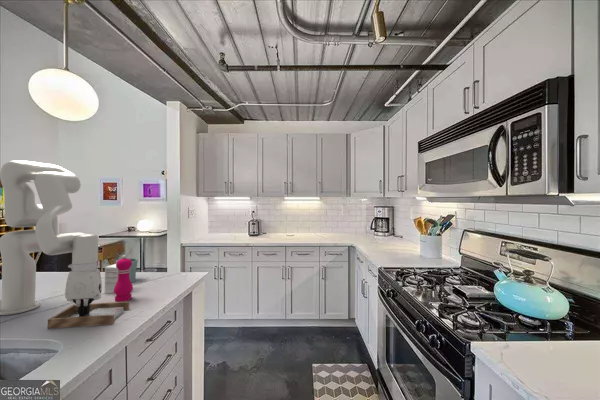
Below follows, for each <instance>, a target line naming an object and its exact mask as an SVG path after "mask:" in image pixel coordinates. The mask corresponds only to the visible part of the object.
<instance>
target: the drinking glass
mask: <svg viewBox="0 0 600 400" xmlns="http://www.w3.org/2000/svg"><path fill="white" fill-rule="evenodd" d="M120 259H121V258H120ZM120 259H117V260H116V261H115V264H116V263H117V261H118V260H120ZM128 259H130V260H131V261H132V266H131V267H130V272H129V278H130V281H131V283H132V284H133V283H134V282H136V278H137V277H136V276H137V275H136V274H137V268H138V261H139V260H138V258H135V257H134V258H133V257H128Z"/></svg>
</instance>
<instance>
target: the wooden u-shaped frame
mask: <svg viewBox="0 0 600 400" xmlns="http://www.w3.org/2000/svg"><path fill="white" fill-rule="evenodd" d="M111 307H124V309H123V311H128V310H130V301H123V302H116V301H114V302H97V303H93V302H92V303H91V304H90V312H91V311H92V310H94V309H95V308H111ZM74 314H78V307H77V306H76V304H75V303H74V304H72V305H70V306H69V307H67V308H65V309H64V310H62V311H60V312H59V313H56V314H55V315H53V316H52V317H50V318H48V319H47V327H46V328H47V329H60V328H74V327H87V326H88V327H89V326H101V325H103V326H104V325H113V324H114V323H115V319H114V315H98V316H83V317H79V316H72V315H74Z"/></svg>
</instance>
